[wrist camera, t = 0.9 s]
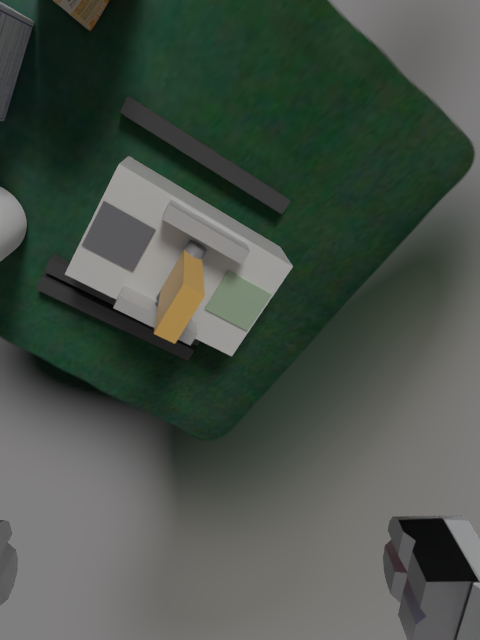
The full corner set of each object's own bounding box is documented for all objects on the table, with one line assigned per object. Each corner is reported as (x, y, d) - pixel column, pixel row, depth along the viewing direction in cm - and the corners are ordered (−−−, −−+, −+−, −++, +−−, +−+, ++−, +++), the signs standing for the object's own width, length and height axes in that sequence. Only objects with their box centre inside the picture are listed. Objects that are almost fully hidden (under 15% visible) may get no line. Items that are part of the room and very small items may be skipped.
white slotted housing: (80, 252, 42) (56, 284, 35) (128, 155, 39) (114, 167, 32) (226, 327, 47) (234, 370, 40) (280, 246, 44) (298, 276, 36)
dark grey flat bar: (40, 283, 43) (35, 289, 42) (54, 254, 42) (50, 258, 41) (187, 354, 48) (187, 361, 47) (203, 329, 47) (204, 335, 46)
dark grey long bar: (121, 112, 38) (119, 112, 36) (129, 96, 37) (127, 96, 36) (279, 211, 42) (282, 214, 41) (287, 198, 42) (290, 201, 41)
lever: (156, 294, 38) (148, 343, 30) (189, 237, 36) (189, 274, 28) (173, 302, 39) (169, 353, 31) (206, 247, 37) (211, 285, 29)
